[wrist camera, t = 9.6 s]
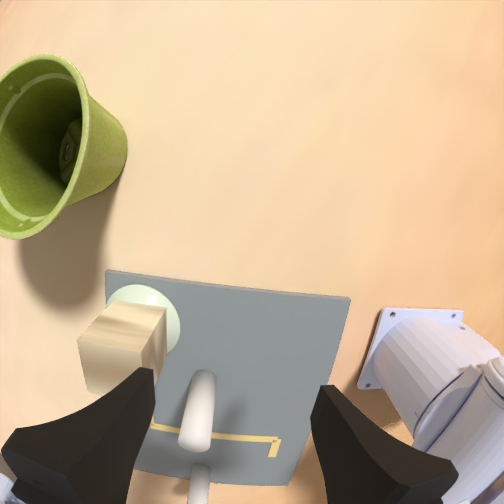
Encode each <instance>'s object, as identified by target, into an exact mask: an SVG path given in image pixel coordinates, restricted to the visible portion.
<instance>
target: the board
mask: <svg viewBox="0 0 504 504" xmlns="http://www.w3.org/2000/svg"><path fill="white" fill-rule="evenodd" d="M129 284H144V285H148V286H151V287H153V288H155V289H157V290H159V291H160V292H162V293H163V294H164V295H166V296H167V297H168V298H169V299H170V300H171V302H172V303H173V304H174V306H175V308H176V309H177V311H178V314H179V317H180V321H181V333H180V337H179V339H178V341H177V344H176V345H175V347H174V348H173V349H172V350H171V351H170V352H169V353H167V356H166V359H165V361H164V364H163V366H162V369H161V371H160V374H159V376H158V379H157V381H156V384H155V386H154V388H155V400H156V404H155V408H154V412H153V416H152V420H151V423H150V426H149V428H148V431H147V433H146V436H145V438H144V441H143V443H142V446H141V448H140V451H139V453H138V456H137V458H136V461H135V464H134V469H137V470H141V471H146V472H150V473H155V474H160V475H165V476H170V477H176V478H182V479H188V480H190V485H189V492H188V499H187V504H208V495H209V483H210V482H212V483H222V484H235V485H257V486H287V485H288V484H289V481H290V479H291V477H292V475H293V472H294V470H295V468H296V466H297V463H298V461H299V459H300V456H301V454H302V451H303V449H304V446H305V444H306V441H307V439H308V436H309V434H310V431H311V422H310V416H311V413H312V410H313V407H314V404H315V401H316V398H317V395H318V392H319V389H320V386H321V385H327V383H328V380H329V377H330V374H331V371H332V367H333V364H334V361H335V358H336V354H337V351H338V347H339V344H340V340H341V337H342V333H343V329H344V326H345V322H346V318H347V314H348V310H349V306H350V302H351V300H350V298H349V297H339V296H327V295H316V294H305V293H294V292H283V291H273V290H264V289H254V288H245V287H236V286H227V285H219V284H210V283H202V282H194V281H186V280H178V279H171V278H163V277H156V276H149V275H142V274H135V273H128V272H121V271H115V270H107V271H105V293H106V304H107V302H108V300H109V298H110V297H111V295H112V294H113V293H114V292H115V291H117V290H118V289H119V288H121V287H123V286H126V285H129Z"/></svg>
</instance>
